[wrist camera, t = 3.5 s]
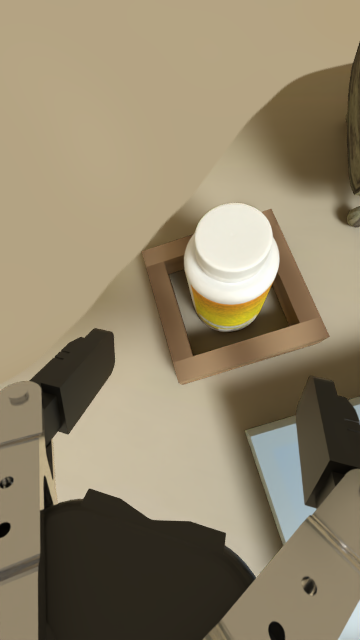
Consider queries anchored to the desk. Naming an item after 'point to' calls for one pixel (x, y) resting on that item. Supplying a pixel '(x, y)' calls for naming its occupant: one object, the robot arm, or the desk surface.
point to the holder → (298, 335)
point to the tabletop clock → (354, 136)
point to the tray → (288, 484)
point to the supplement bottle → (231, 266)
